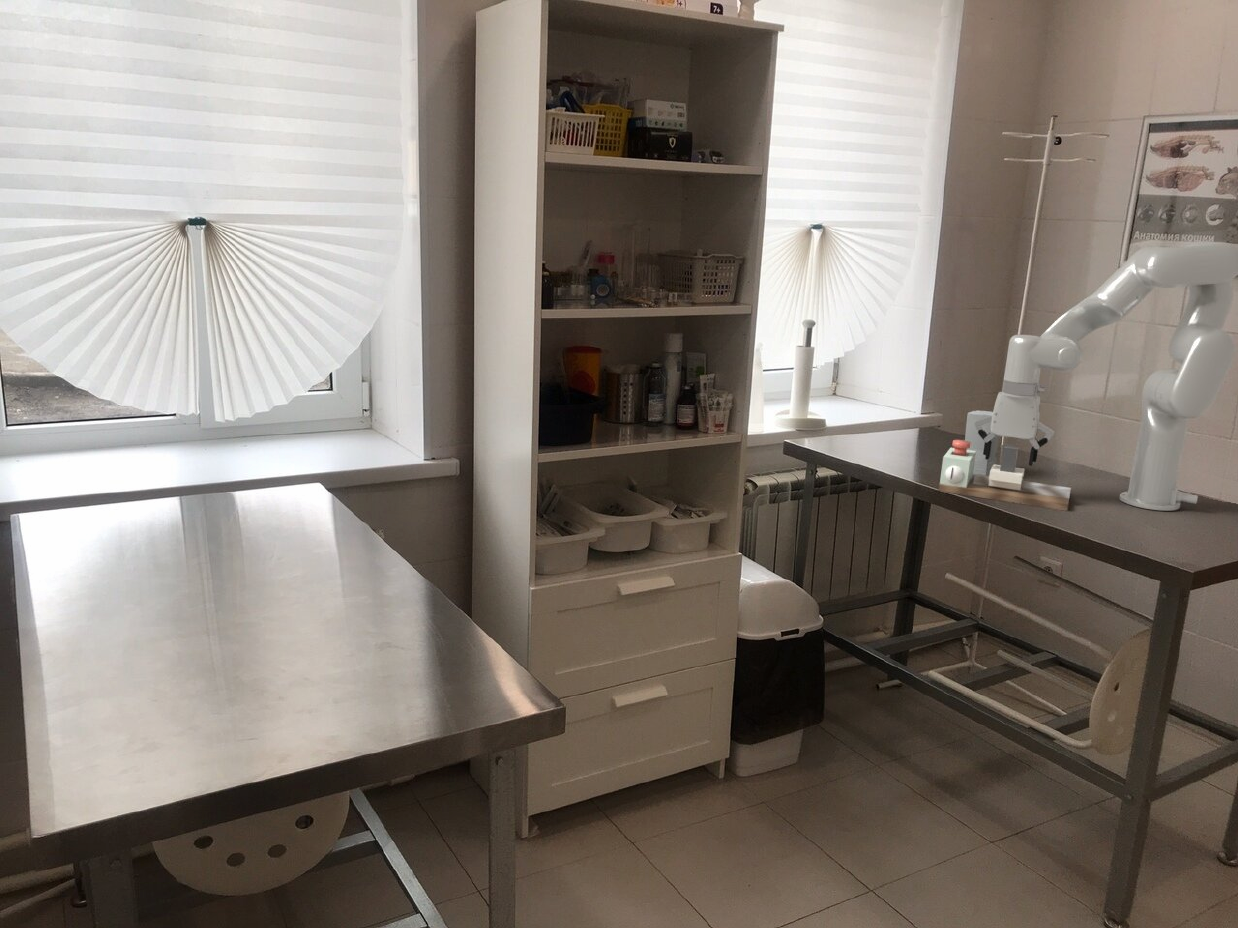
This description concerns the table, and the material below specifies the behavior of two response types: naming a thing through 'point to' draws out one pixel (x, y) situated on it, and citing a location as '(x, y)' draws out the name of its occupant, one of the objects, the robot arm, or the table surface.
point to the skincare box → (981, 442)
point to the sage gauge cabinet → (957, 468)
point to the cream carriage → (1007, 470)
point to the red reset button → (960, 447)
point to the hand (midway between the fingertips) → (1008, 461)
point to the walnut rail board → (1015, 493)
